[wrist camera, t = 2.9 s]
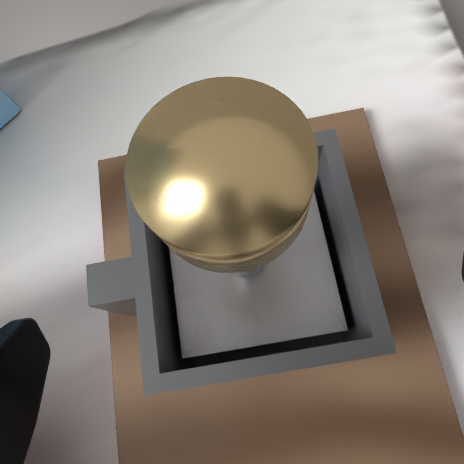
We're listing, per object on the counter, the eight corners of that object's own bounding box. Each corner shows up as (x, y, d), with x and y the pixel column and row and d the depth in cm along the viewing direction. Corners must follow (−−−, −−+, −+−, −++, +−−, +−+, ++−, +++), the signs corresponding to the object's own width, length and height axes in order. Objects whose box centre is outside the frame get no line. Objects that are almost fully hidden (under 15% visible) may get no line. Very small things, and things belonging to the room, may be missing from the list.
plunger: (345, 330, 16) (448, 300, 6) (185, 358, 16) (59, 367, 7) (309, 182, 18) (348, -10, 8) (167, 209, 18) (50, 55, 9)
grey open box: (355, 352, 20) (396, 353, 13) (148, 387, 20) (86, 405, 13) (316, 195, 22) (335, 128, 15) (133, 230, 23) (75, 179, 16)
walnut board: (475, 494, 18) (482, 499, 17) (129, 546, 19) (124, 552, 18) (361, 113, 24) (363, 107, 23) (102, 164, 25) (98, 160, 24)
